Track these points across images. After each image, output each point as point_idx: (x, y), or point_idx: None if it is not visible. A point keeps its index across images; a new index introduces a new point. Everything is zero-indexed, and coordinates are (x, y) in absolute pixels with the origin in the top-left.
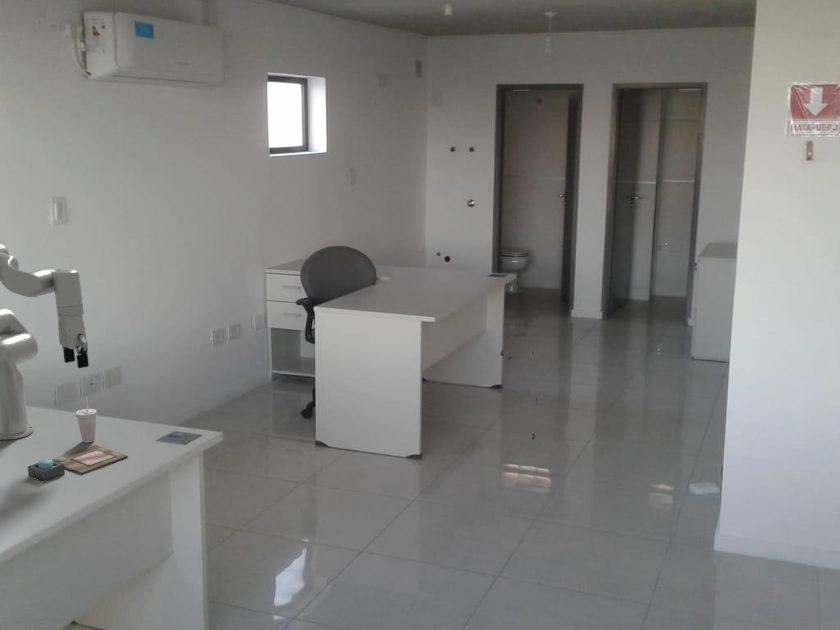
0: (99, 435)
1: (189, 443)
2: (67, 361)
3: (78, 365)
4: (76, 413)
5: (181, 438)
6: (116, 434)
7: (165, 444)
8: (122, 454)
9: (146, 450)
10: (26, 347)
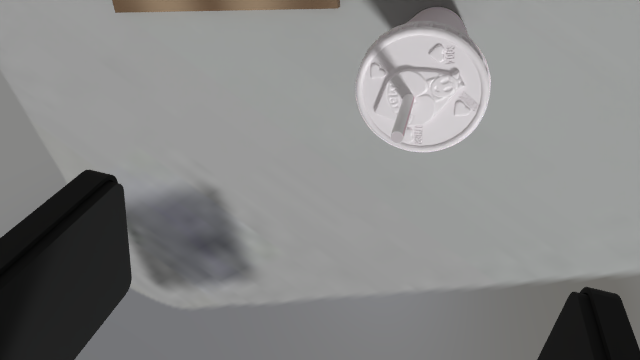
0: None
1: None
2: (566, 316)
3: (64, 187)
4: (445, 35)
5: (173, 239)
6: (397, 158)
7: (157, 177)
8: (139, 7)
9: (145, 103)
10: None
